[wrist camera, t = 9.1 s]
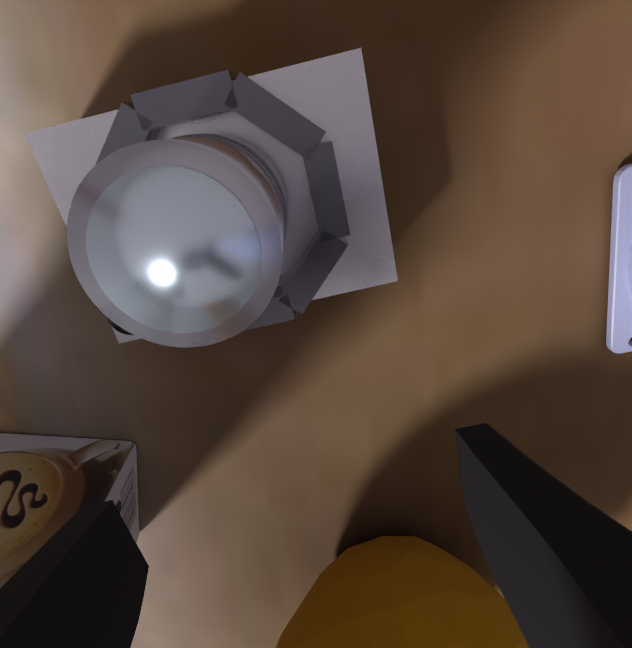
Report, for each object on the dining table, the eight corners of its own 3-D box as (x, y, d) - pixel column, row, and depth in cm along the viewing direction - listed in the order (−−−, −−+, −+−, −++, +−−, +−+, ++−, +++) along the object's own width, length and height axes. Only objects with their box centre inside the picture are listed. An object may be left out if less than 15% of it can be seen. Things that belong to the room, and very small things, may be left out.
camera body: (348, 57, 15) (365, 34, 11) (383, 261, 18) (405, 294, 14) (69, 128, 16) (0, 127, 12) (146, 314, 19) (109, 360, 15)
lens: (277, 124, 13) (266, 123, 8) (295, 258, 15) (297, 340, 9) (139, 141, 13) (24, 152, 8) (173, 274, 15) (99, 364, 9)
